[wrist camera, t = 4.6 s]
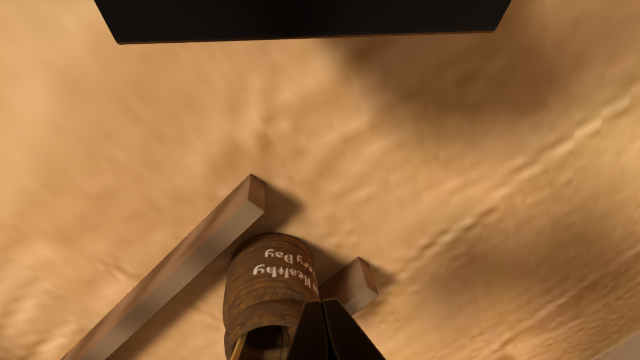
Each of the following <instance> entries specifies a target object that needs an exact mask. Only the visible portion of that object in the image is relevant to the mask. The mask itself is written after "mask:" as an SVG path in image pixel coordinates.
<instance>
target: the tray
mask: <svg viewBox="0 0 640 360" xmlns="http://www.w3.org/2000/svg"><path fill="white" fill-rule="evenodd" d="M264 212H265V184H263V183H262V182H261V181H259V180H258V179H257V178H256V177H254V176H253V175H252V174H250V175H249V176H248V177H247V178H246V179H245V180H244V181H243V182H242V183H241V184H240V185H238V186H237V187H236V188H235V189H234V190H233V191H232V192H231V193H230V194H229V195H228V196H227V197H226V198H225V199H224V200H223V201H222V202H221V203H220V204H219V205H218V206H217V207H216V208H215V209H214V210H213V211H212V212H211V213H210V214H209V215H208V216H207V217H206V218H205V219H204V220H203V221H202V222H201V223H200V224H199V225H198V226H197V227H196V228H195V229H194V230H193V231H192V232H191V233H189V234H188V235H187V236H186V237H185V238H184V239H183V240H182V241H181V242H180V243H179V244H178V245H177V246H176V247H175V248H174V249H173V250H172V251H171V252H170V253H169V254H168V255H167V256H166V257H165V258H164V259H163V260H162V261H161V262H160V263H159V264H158V265H157V266H156V267H155V268H154V269H153V270H152V271H151V272H150V273H149V274H148V275H147V276H146V277H145V278H144V279H143V280H142V281H141V282H139V283H138V284H137V285H136V286H135V287H134V288H133V289H132V290H131V291H130V292H129V293H128V294H127V295H126V296H125V297H124V298H123V299H122V300H121V301H120V302H119V303H118V304H117V305H116V306H115V307H114V308H113V309H112V310H111V311H110V312H109V313H108V314H107V315H106V316H105V317H104V318H103V319H102V320H101V321H100V322H99V323H98V324H97V325H96V326H95V327H94V328H93V329H92V330H90V331H89V332H88V333H87V334H86V335H85V336H84V337H83V338H82V339H81V340H80V341H79V342H78V343H77V344H76V345H75V346H74V347H73V348H72V349H71V350H70V351H69V352H68V353H67V354H66V355H65V356H64V357H63V358H62V359H61V360H105V359H106V358H107V357H108V356H109V355H110V354H112V353H113V352H114V351H115V350H116V349H117V348H118V347H119V346H120V345H121V344H122V343H123V342H125V341H126V340H127V339H128V338H129V337H130V336H131V335H132V334H133V333H134V332H135V331H136V330H138V329H139V328H140V327H141V326H142V325H143V324H144V323H145V322H146V321H147V320H148V319H149V318H151V317H152V316H153V315H154V314H155V313H156V312H157V311H158V310H159V309H160V308H161V307H162V306H164V305H165V304H166V303H167V302H168V301H169V300H170V299H171V298H172V297H173V296H174V295H175V294H177V293H178V292H179V291H180V290H181V289H182V288H183V287H184V286H185V285H186V284H187V283H188V282H190V281H191V280H192V279H193V278H194V277H195V276H196V275H197V274H198V273H199V272H200V271H202V270H203V269H204V268H205V267H206V266H207V265H208V264H209V263H210V262H211V261H212V260H213V259H215V258H216V257H217V256H218V255H219V254H220V253H221V252H222V251H223V250H224V249H225V248H226V247H228V246H229V245H230V244H231V243H232V242H233V241H234V240H235V239H236V238H237V237H238V236H239V235H241V234H242V233H243V232H244V231H245V230H246V229H247V228H248V227H249V226H250V225H251V224H252V223H254V222H255V221H256V220H257V219H258V218H259V217H260V216H261V215H262V214H263V213H264ZM318 294H319V300H320V301H322V300H323V299H329V298H337V299H338V300H339V301H340V302H341V303H342V305H343V306H344V307H345V308H346V310H347V311H348V312H349V313H350V315H351V316H352V315H353V314H355V313H356V312H357V311H359V310H360V309H362V308H363V307H364V306H366V305H367V304H368V303H370V302H371V301H372V300H374V299H375V298H376V297H378V296H379V294H378V291H377V289H376V286H375V283H374V280H373V277H372V274H371V271H370V268H369V265H368V264H367V263H365V262H364V261H363V260H362V259H360V258H359V257H357V258H356V259H355V260H353V261H352V262H351V263H350V264H348V265H347V266H346V267H345V268H343V269H342V270H341V271H339V272H338V273H337V274H336V275H334V276H333V277H332V278H331V279H329V280H328V281H327V282H326V283H324V284H323V285H322V286H321V287H319V288H318Z"/></svg>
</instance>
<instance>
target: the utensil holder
mask: <svg viewBox="0 0 640 360" xmlns="http://www.w3.org/2000/svg"><path fill="white" fill-rule="evenodd" d="M311 300H319V294H318V287H317V281H316V274H315V268H314V264H313V260H312V257H311V255H310V253H309V251H308V250H307V248H306V247H305V246H304V245H303V244H302V243H301V242H299V241H298V240H296V239H294V238H292V237H290V236H287V235H283V234H263V235H259V236H256V237H253V238H251V239H249V240H247V241H246V242H244V243H243V244H242V245H241V246H240V247H239V248H238V249H237V250H236V251H235V253H234V255H233V257H232V259H231V262H230V265H229V269H228V274H227V280H226V287H225V294H224V301H223V322H224V326H225V329H226V331H225V336H224V346H225V355H226V358H227V360H285V358H286V355H287V352H288V349H289V346H290V343H291V340H292V338H293V335H294V332H295V329H296V326H297V323H298V320H299V317H300V314H301V311H302V308H303V305H304V303H305V302H306V301H311Z"/></svg>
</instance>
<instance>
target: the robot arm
mask: <svg viewBox="0 0 640 360" xmlns="http://www.w3.org/2000/svg"><path fill="white" fill-rule="evenodd" d="M94 1H95V3H96V5H97V7H98V9H99V11H100V13H101V14H102V16H103V18H104V20H105V22H106V24H107V26H108V28H109V30H110V31H111V33H112V35H113V37H114V39H115V41H116V42H117V43H118V44H119V45H125V44H156V43H186V42H217V41H248V40H279V39H310V38H341V37H372V36H403V35H434V34H465V33H492V32H493V31H495V29H496V28H497V26H498V24H499V22H500V21H501V19H502V17H503V15H504V13H505V11H506V10H507V8H508V6H509V4H510V2H511V0H94ZM285 360H386V359H385V358H384V357H383V355H382V354H381V353H380V351H379V350H378V349H377V348H376V346H375V345H374V344H373V343H372V341H371V340H370V339H369V338H368V336H367V335H366V334H365V332H364V331H363V330H362V329H361V327H360V326H359V325H358V324H357V322H356V321H355V320H354V319H353V317H352V316H351V315H350V313H349V312H348V311H347V310H346V308H345V307H344V306H343V305H342V303H341V302H340V301H339V300H338V299H337V298H329V299H323V300H322V301H320V300H311V301H306V302H305V303H304V305H303V308H302V311H301V314H300V317H299V320H298V323H297V326H296V329H295V332H294V335H293V338H292V340H291V343H290V346H289V349H288V352H287V355H286V358H285Z"/></svg>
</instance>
